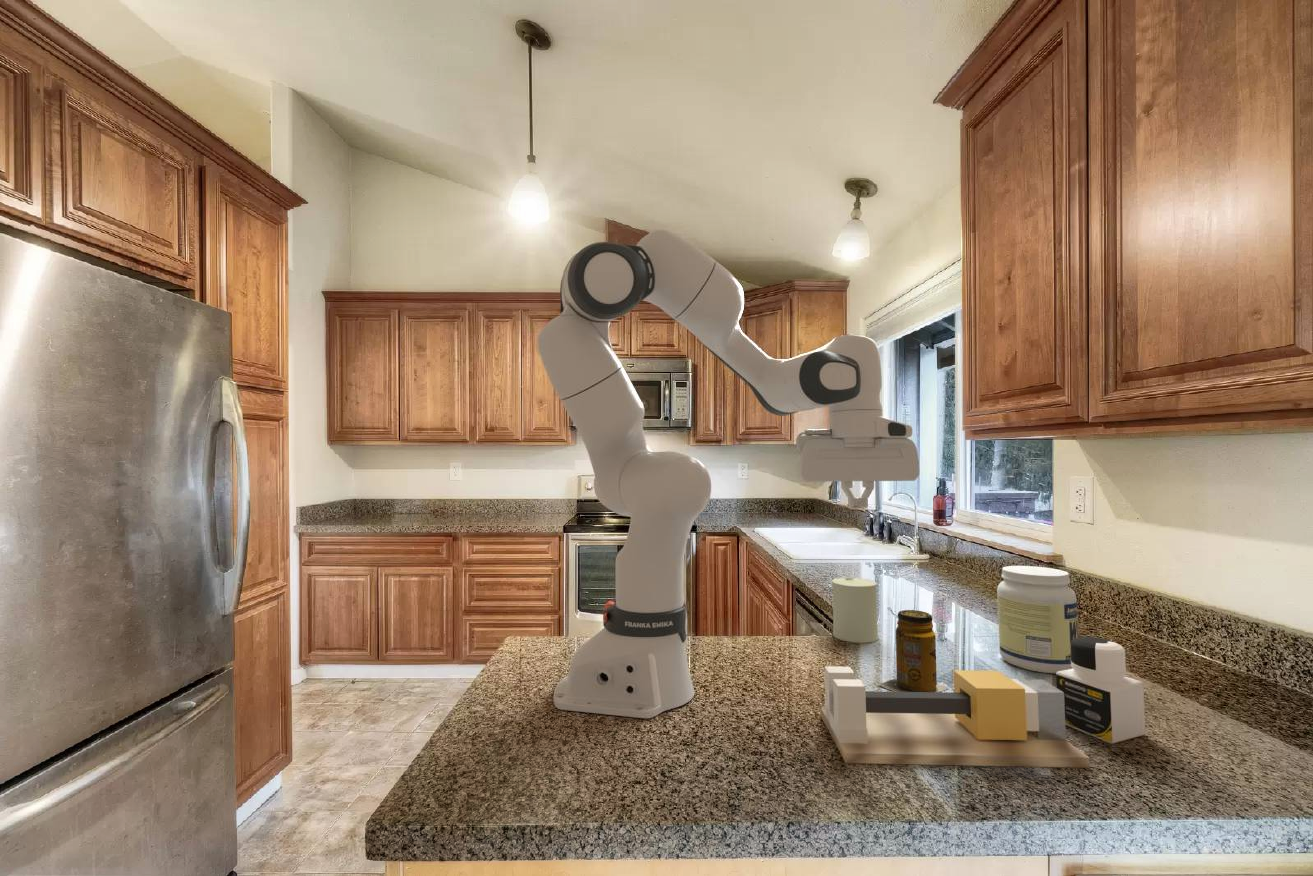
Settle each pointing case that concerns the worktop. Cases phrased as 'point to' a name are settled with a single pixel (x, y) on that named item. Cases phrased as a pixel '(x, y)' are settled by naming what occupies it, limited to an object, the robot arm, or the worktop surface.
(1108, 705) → the medicine bottle
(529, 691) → the worktop surface
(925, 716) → the board
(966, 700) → the dark gray bar
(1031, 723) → the white rectangular block
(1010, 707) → the sleeve
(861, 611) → the can
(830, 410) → the robot arm
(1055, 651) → the supplement tub
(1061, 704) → the block
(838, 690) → the white bar support
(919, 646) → the condiment
